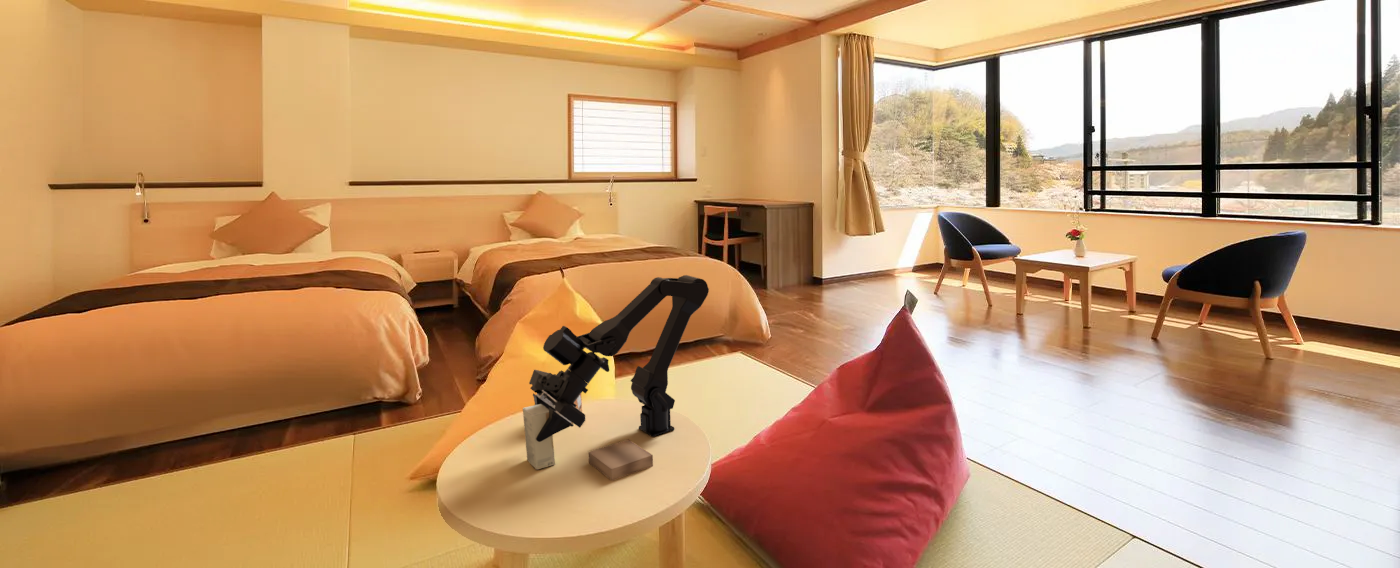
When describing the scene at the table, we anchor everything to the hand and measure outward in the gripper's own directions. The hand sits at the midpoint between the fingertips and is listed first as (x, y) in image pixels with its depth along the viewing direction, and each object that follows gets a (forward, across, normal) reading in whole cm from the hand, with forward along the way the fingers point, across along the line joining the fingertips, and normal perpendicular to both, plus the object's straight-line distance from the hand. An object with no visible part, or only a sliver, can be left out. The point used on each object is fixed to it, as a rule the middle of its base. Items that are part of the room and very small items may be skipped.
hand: (532, 435), depth 136 cm
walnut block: (-6, +11, +16) cm, 20 cm away
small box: (-6, -19, +16) cm, 25 cm away
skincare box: (+4, 0, +6) cm, 7 cm away
